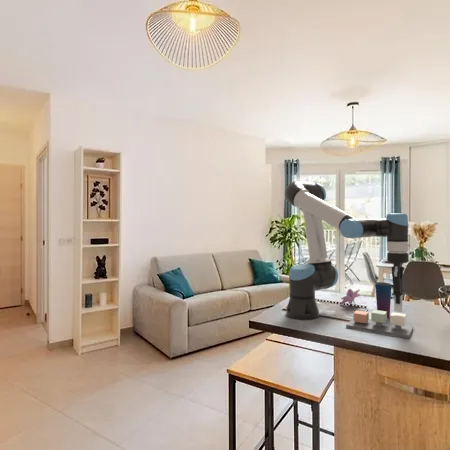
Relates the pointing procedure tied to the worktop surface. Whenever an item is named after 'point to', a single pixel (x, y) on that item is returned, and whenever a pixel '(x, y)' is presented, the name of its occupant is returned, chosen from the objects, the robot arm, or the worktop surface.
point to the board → (382, 328)
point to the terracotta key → (361, 316)
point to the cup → (383, 296)
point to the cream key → (398, 319)
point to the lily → (350, 297)
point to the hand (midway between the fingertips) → (398, 311)
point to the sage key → (379, 316)
